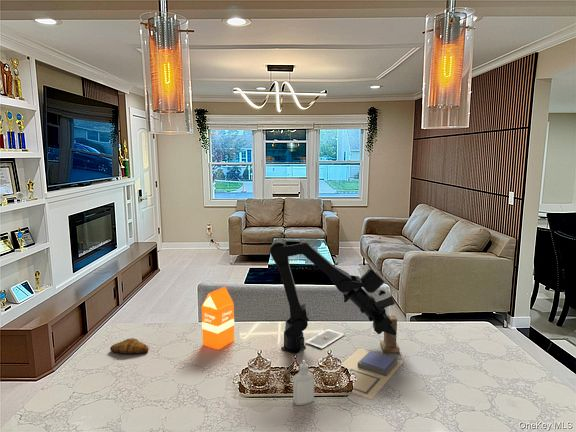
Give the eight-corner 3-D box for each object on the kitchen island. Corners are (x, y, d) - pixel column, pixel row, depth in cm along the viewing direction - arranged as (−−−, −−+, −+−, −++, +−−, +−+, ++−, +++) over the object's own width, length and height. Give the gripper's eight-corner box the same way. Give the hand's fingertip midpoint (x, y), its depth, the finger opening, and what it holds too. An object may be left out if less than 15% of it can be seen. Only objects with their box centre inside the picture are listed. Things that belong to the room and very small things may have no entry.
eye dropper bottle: (313, 406, 108) (313, 365, 106) (292, 405, 108) (292, 363, 107) (314, 397, 112) (314, 357, 110) (294, 396, 113) (294, 356, 111)
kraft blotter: (321, 381, 120) (321, 380, 120) (359, 348, 141) (359, 348, 141) (371, 400, 111) (371, 399, 111) (403, 361, 132) (403, 361, 132)
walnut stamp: (383, 353, 138) (384, 320, 136) (380, 346, 143) (381, 314, 141) (399, 353, 137) (400, 320, 136) (395, 346, 143) (396, 314, 141)
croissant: (152, 348, 141) (152, 334, 141) (144, 357, 135) (143, 343, 134) (115, 346, 142) (115, 333, 142) (105, 356, 136) (105, 342, 135)
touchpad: (344, 337, 151) (344, 331, 151) (322, 351, 140) (322, 345, 140) (327, 331, 156) (327, 326, 156) (304, 344, 145) (304, 339, 145)
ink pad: (357, 367, 128) (357, 361, 128) (369, 355, 136) (370, 350, 136) (386, 376, 123) (386, 371, 122) (397, 363, 130) (397, 358, 130)
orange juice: (234, 340, 147) (233, 288, 145) (218, 349, 140) (217, 295, 137) (218, 335, 151) (217, 284, 149) (202, 344, 144) (200, 291, 141)
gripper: (386, 294, 128) (419, 327, 129) (375, 277, 146) (404, 306, 148) (361, 317, 129) (394, 350, 130) (353, 298, 148) (382, 326, 149)
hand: (394, 332), depth 139 cm, fingers closed on walnut stamp, 3 cm apart
